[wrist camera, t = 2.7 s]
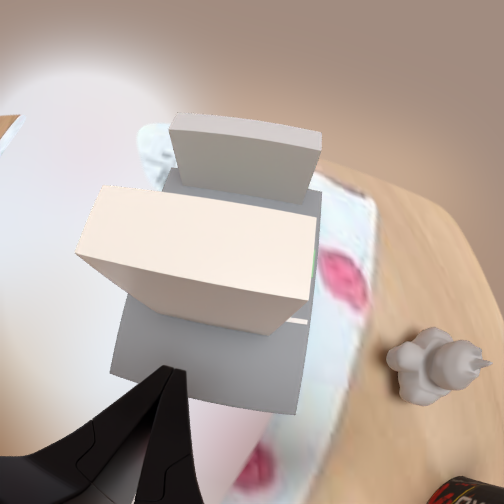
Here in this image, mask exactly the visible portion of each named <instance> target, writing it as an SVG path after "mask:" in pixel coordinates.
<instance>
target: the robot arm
mask: <svg viewBox="0 0 504 504" xmlns="http://www.w3.org/2000/svg"><path fill="white" fill-rule="evenodd" d="M135 493H136V496H135ZM134 496H135V502H134V504H204V502H203V499H202V496H201V493H200V489H199V485H198V482H197V478H196V473H195V466H194V458H193V450H192V440H191V430H190V418H189V404H188V389H187V372H186V370H183V369H179V368H175V369H174V367H171V366H167V365H162V366H160V367H159V368H158V369H157V370H155V371H154V372H153V373H152V374H150V375H149V376H148V377H146V378H145V379H144V380H143V381H141V382H140V383H139V384H138V385H136V386H135V387H134V388H132V389H131V390H130V391H128V392H127V393H126V394H125V395H123V396H122V397H121V398H119V399H118V400H117V401H116V402H114V403H113V404H111V405H110V406H109V407H108V408H106V409H105V410H103V411H102V412H101V413H100V414H98V415H97V416H95V417H94V418H93V420H90V421H89V422H87V423H86V424H84V425H83V426H82V427H80V428H79V429H77V430H76V431H74V432H73V433H71V434H69V435H68V436H66V437H64V438H62V439H61V440H59V441H57V442H55V443H53V444H51V445H49V446H47V447H45V448H43V449H41V450H39V451H37V452H35V453H33V454H30V455H26V456H14V457H13V456H0V504H131V503H132V501H133V498H134Z"/></svg>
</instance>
